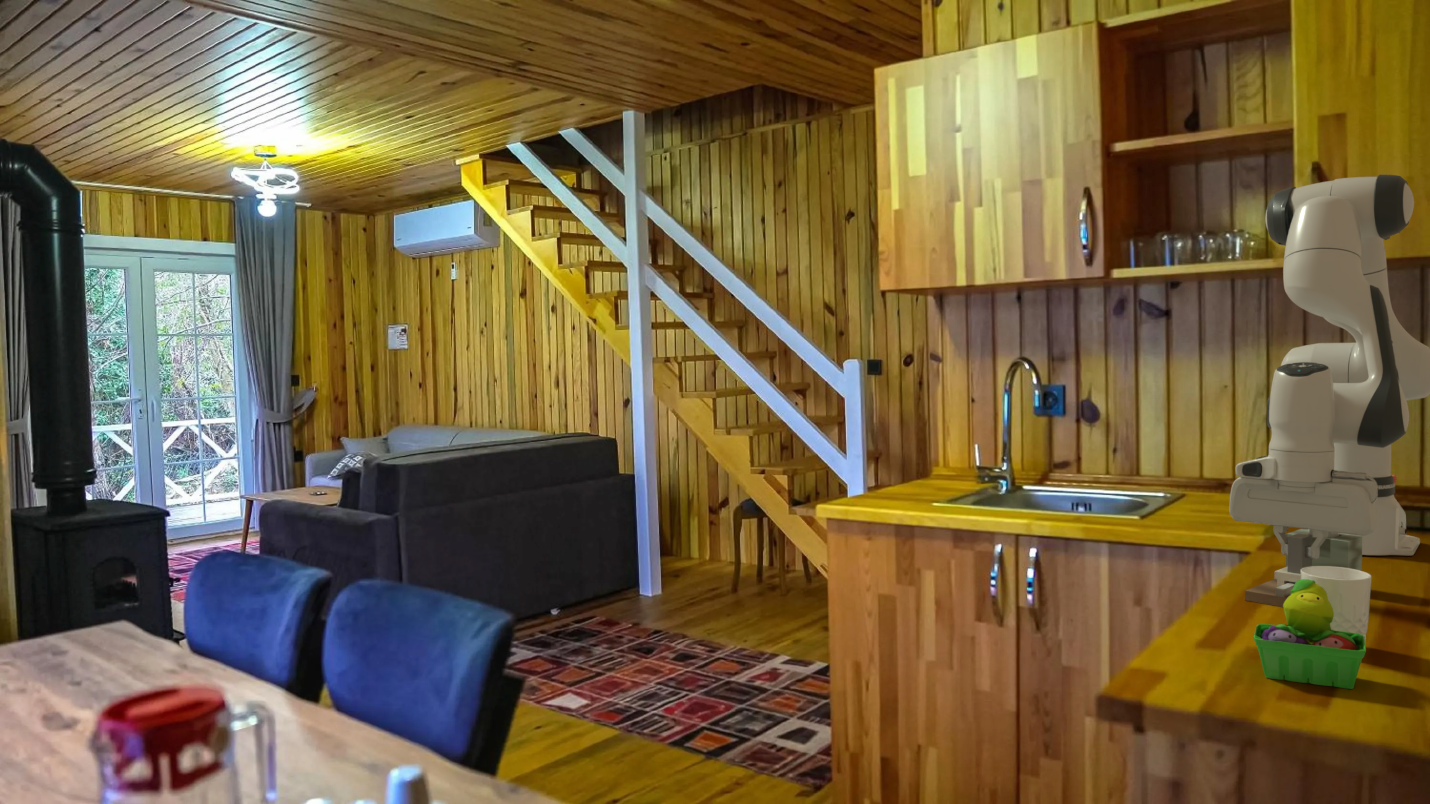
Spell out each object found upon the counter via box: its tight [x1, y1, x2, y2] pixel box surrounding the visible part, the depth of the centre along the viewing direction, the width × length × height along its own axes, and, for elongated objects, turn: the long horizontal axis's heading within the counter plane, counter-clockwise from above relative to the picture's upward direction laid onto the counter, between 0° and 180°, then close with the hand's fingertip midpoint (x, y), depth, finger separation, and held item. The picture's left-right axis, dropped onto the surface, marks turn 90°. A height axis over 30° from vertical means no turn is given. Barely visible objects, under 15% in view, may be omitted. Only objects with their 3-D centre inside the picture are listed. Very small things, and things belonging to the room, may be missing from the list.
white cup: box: [1300, 566, 1372, 643], centre depth 131 cm, size 8×8×10 cm
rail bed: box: [1244, 528, 1363, 607], centre depth 157 cm, size 20×10×8 cm, turn 129°
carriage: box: [1273, 533, 1312, 587], centre depth 156 cm, size 6×5×8 cm
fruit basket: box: [1253, 579, 1367, 690], centre depth 121 cm, size 11×9×11 cm
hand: (1300, 556), depth 156 cm, fingers closed on carriage, 2 cm apart
